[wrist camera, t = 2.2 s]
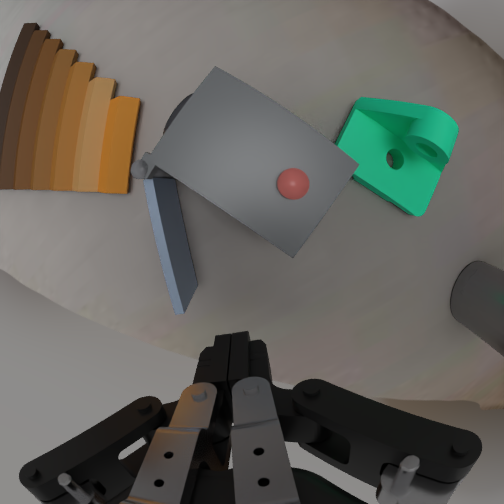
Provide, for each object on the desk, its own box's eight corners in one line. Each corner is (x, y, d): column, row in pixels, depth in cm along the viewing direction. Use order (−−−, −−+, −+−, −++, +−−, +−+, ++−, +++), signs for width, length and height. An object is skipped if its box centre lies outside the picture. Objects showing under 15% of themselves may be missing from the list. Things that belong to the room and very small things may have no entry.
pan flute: (28, 33, 22) (-5, 187, 27) (17, 26, 19) (-20, 189, 24) (173, 0, 23) (134, 192, 29) (167, -15, 20) (121, 194, 25)
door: (199, 285, 30) (186, 313, 23) (185, 287, 30) (168, 315, 23) (174, 166, 27) (152, 160, 20) (159, 169, 27) (133, 166, 20)
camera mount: (323, 161, 28) (360, 150, 18) (352, 103, 26) (396, 72, 16) (409, 217, 29) (466, 232, 19) (433, 162, 28) (491, 159, 18)
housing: (323, 170, 28) (364, 163, 17) (268, 247, 29) (279, 281, 19) (215, 97, 26) (198, 53, 15) (161, 175, 28) (116, 171, 17)
